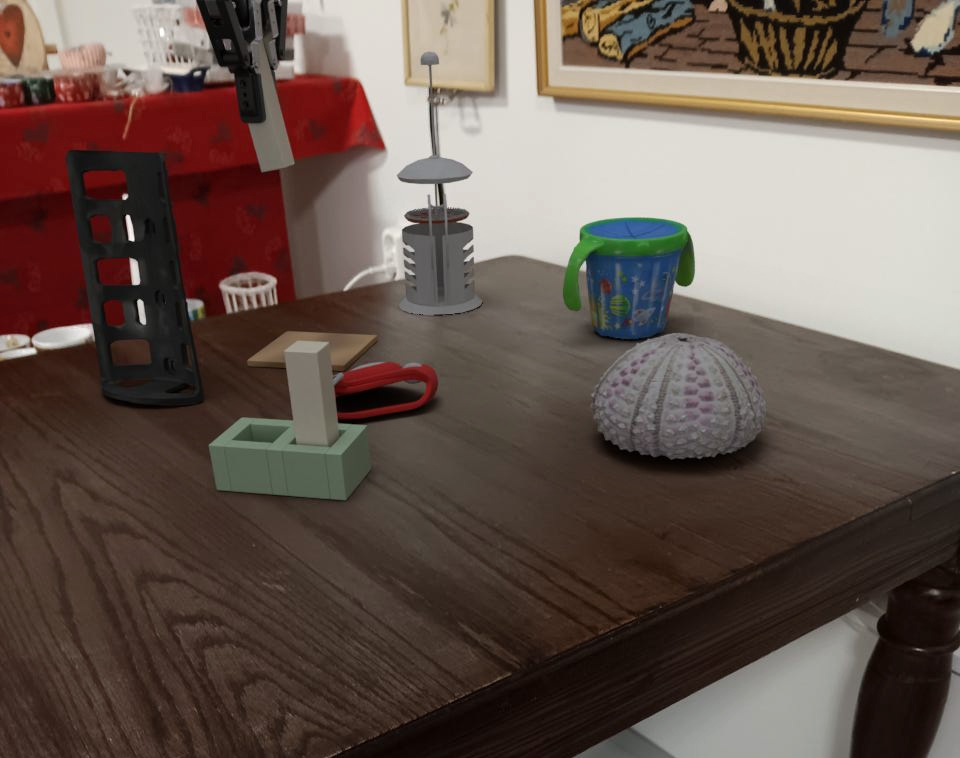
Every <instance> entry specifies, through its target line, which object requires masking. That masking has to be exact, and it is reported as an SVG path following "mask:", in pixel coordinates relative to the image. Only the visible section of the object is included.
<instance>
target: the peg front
mask: <svg viewBox="0 0 960 758" xmlns="http://www.w3.org/2000/svg"><path fill="white" fill-rule="evenodd" d="M284 355H285V362H286V368H285V369H286V374H287V375H286V376H287V384H288V390H289V399H290V406H291V414H292V421H293V422H294V429H295V437H296V444H297V445H309V446H323V447H332V446H333V444H334V443H335V442H336V441H337V440H338V439H339V438H340V437H339V428H338V423H339V420H338V419H337V413H338V410H337V402H336V398H335V391H334V382H333V376H334V373H333V371H332V364H331V355H330V345H329V342H315V341H296V342H295V343H294V344H292V345H291V346H290V347H289V348H287V349H286V350H285V351H284Z"/></svg>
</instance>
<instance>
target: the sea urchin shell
mask: <svg viewBox="0 0 960 758" xmlns="http://www.w3.org/2000/svg"><path fill="white" fill-rule="evenodd" d="M743 359H744V358H743V357H741V356H739V355H738V354H737V353H736V352H735V351H734V350H733V349H731V348H730V347H729V346H728V345H726V344H725V343H723V342H722V341H719V340H717V339H713V338H709V337H705V336H697V335H694V334H691V333H684V332H672V333H667V334H664V335H660V336H658V337H654V338H647V340H644V341H642V342H640V343H639V342H636V344H635V346H633V347H631V348H630V349H626V350H625V352H624V353H623V354H622V355H620V356H619V357H618V358H616V359H615V361H614V362H613V363H612V364H611V365H610V366H609V367H608V368H607V369H606V371H605V372H604V373H602V376H601V377H600V378H599V382H598V383H597V384H596V385H595V386H593V388H594V389H593V390H594V391H593V392H592V393H591V394H590V396H591V399H592V402H591V404H590V405H589V408H590V409H591V410H592V411H593V414H592V419H593V420H594V421H595V422H596V423H597V432H599V433H601V434H603V437H604V440H605V441H610V442H611V443H612V445H616V446H618V447H619V450H626V451H627V452H629V453H631V452H634V451H635V452H639V454H640V455H641V456H643V455H645V456H649V455H650V456H651V457H652V458H657V457H660V456H663V457H666V458H668V459H670V461H671V460H675V459H679V460H680V459H681V460H684V459H687V458H689V459H692V458H693V459H695V458H697V459H699V460H700V459H702V458H709V457H712V458H715V457H716V456H717V455H718V454H721V455H724V456H725V455H726V454H727V453H729V454H732V453H733V452H737V451H738V450H741V449H742V448H746V446H747V445H748V444H749V443H751V442H752V443H753V441H755V440H756V437H757V435H759V433H761V432H762V431H763V428H762V427H764V424H765V422H766V416H767V414H768V410H767V408H766V405H767V401H766V400H765V399H764V393H765V392H764V391H763V388H761V387H760V386H759V384H758V382H757V379H758V376H756V375H754V374H752V369H751V366H750V365H748V364H746V362H744V360H743Z"/></svg>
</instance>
